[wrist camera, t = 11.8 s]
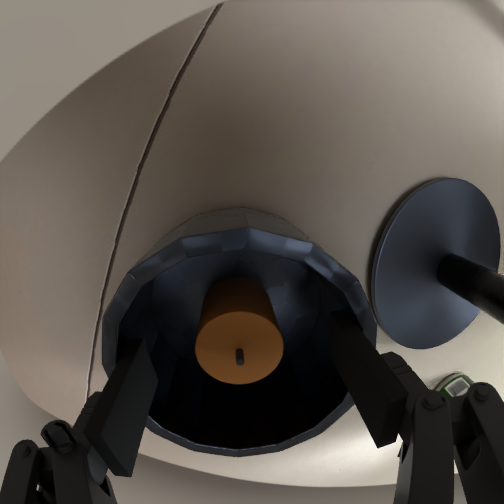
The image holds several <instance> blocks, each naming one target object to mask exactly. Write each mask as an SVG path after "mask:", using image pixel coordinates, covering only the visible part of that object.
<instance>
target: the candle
mask: <svg viewBox="0 0 504 504" xmlns="http://www.w3.org/2000/svg"><path fill="white" fill-rule="evenodd" d="M283 350H284V343H283V338H282V335H281V332H280V329H279V326H278V323H277V320H276V317H275V313H274V310H273V307H272V304H271V301H270V298H269V295H268V294H267V292H266V291H265V289H264V288H263V287H262V286H261V285H260V284H258V283H257V282H255V281H254V280H251V279H248V278H245V277H230V278H226V279H223V280H221V281H219V282H217V283H216V284H214V285H213V286H212V287H211V288H210V289H209V290H208V292H207V293H206V295H205V297H204V300H203V305H202V310H201V315H200V321H199V326H198V331H197V337H196V342H195V353H196V357H197V360H198V362H199V364H200V365H201V367H202V368H203V369H204V370H205V371H206V372H207V373H208V374H209V375H210V376H212V377H213V378H215V379H217V380H219V381H222V382H225V383H230V384H247V383H252V382H255V381H258V380H260V379H262V378H264V377H266V376H267V375H269V374H270V373H271V372H272V371H273V370H274V369H275V368H276V367H277V366H278V364H279V362H280V360H281V358H282V355H283Z"/></svg>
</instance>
